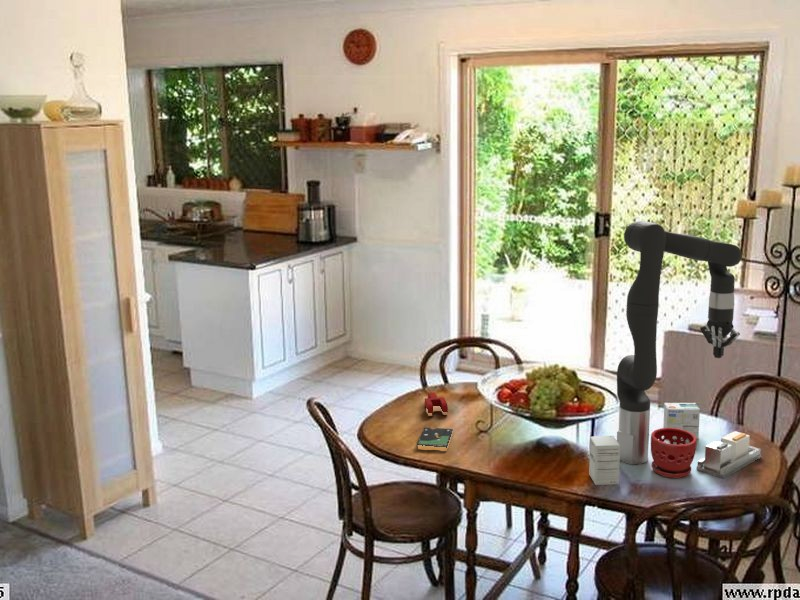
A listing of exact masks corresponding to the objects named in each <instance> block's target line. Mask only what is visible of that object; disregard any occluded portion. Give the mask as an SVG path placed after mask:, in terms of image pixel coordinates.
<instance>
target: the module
mask: <svg viewBox="0 0 800 600" xmlns="http://www.w3.org/2000/svg"><path fill="white" fill-rule="evenodd" d="M750 438H751V435H749V434H746V433H743V432H740V431H739V432H738V431H736V430H735V431H732V432H730V433H728V434H726V435H724V436H723V437H721V438H720V439H721V440H720V442H722V443H724V442H725V443H728V444H729V445H731V460H730V462H731V463H732V462H734V461H735V460H737V459H739V458H741V457H743V456H744V455H746V454H748V453H749V446H750Z"/></svg>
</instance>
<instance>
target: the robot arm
mask: <svg viewBox="0 0 800 600" xmlns="http://www.w3.org/2000/svg"><path fill="white" fill-rule="evenodd" d="M623 239H624V242H625V245H626V246H627V247H628V248H630V249H631V250H633V251H634V252H635V251H636V252H639V254H640V255H639V256H640V261H639V269H638V272H637V276H636V277H635V279H634V281H633V283H632V284H631V286H630V288H629V291H628V293H627V298H626V310H625V311H626V312H625V313H626V316H625V317H626V321H627V325H628V329H629V331H630V335H631V336H632V341H633V349H634V352H633V353H634V354H628V355H626V356H624V357H623V358H621V359H620V362H619V363H618V366H617V370H616V395H617V398H618V400H619V401H618V402H619V411H618V414H619V415H618V431H617V432H616V440H617V442H618V443H619V445H620V460H619V462H623V463H626V464H628V465H631V466H633V465H639V464H644V463H645V464H646V462H648V460H649V444H650V443H649V439H650V418H651V417H650V416H651V399H650V397H649V396H648V395H647V394H646V392H645V391H647V390H650V389H651V388H652V387H653V385H654V384H655V383H656V379H657V375H658V374H657V373H658V366H657V365H658V364H657V363H658V362H657V331H658V329H657V328H658V327H657V326H658V316H659V315H658V314H659V303H660V301H659V298H660V296H659V295H660V285H661V284H660V283H661V274H662V266H663V260H664V255H665V253H668V254H672V255H675V256H679V257H682V258H684V259H685V258H686V259H689V260H695V261H700V262H707V265H708V271H709V275H710V289H709V290H710V292H709V297H708V311H707V312H708V314H707V319H708V320H707V322H706V324H705V325H703V326H700V328H699V329H700V331H701V333H702V335H703V337H704V338H705V340H706V341H707V343H708V344H711V345H712V347H713V350H712V351H713V352H712V355H713V356H714V358H715V359H720V358H722V357H724V354H725V353H724V352H725V348H727V347H728V346H729V347H730V345H732V343H734V341H735V340H736V339H737V338H738V337H739V336H740V335H741V334H740V331H736V330H735V329H734V324H733V322H734V315H735V314H734V312H735V311H734V310H735V282H736V281H735V279H736V278H735V275H734V274H733V273H732V272H731V271H729V270H728V267H729V268H731V267H735V266H737V265H738V264H740V262H741V261H742V257H743V253H742V250H741V249H740V247H739V246H737V245H736V244H732V243H727V242H722V241H714V240H711V239H708V238H705V237H700V236H695V235H691V234H683V233H677V232H671V231H666V230H665V228H664V227H663V226H662V225H661V224H659V223H655V222H652V221H651V222H650V221H645V220H636V221H633V222H632V223H630V224H628V226H627V227H626V228H625V230H624V234H623ZM728 336H729V337H728Z"/></svg>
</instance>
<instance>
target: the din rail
mask: <svg viewBox="0 0 800 600" xmlns="http://www.w3.org/2000/svg"><path fill="white" fill-rule="evenodd" d="M704 450H705V451H704V457H703V458H701V459H699V460H697V465H696V470H697V471H699V472H703V473H706V474H709V475H712V476H715V477H718V478H719V479H720V478H721V479H726V478H727V477H730V476H731V475H733V474H735V473H736V472H739V471H740V470H743V469H744V468H745V467H747V466H749V465H750V463H751V464H752V463H754V462H756V461H757V459H758V460H759V459H761V458H762V455H761V451H762V450H761V448H758V447H755V446H752V445H749V453H748V454H746V455H744V456H743V457H741V458H739V459H737V460H735V461H734V462H732V463H731V462H730V460H731V445H729V444H728V443H725V442H724V443H722V442H721V441H718V440H715V441H713V442H710V443H709V444H707V445H705V449H704ZM760 457H761V458H760ZM755 460H756V461H755ZM748 464H749V465H748Z"/></svg>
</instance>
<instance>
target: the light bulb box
mask: <svg viewBox="0 0 800 600" xmlns="http://www.w3.org/2000/svg"><path fill="white" fill-rule="evenodd" d="M700 409H701V408H699V406H698V405H697V403H696V402H664V403H663V427H662V428H677V429H682V430H685V431H688V432H690V433H692V434H693V435H694V436H695V437H696V439H697V440H699V439H700V437H699V435H700V433H699V431H700V412H701V410H700ZM673 439H674V440H676V439H677V437H676V436H673ZM681 440H683V438H681Z"/></svg>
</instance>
